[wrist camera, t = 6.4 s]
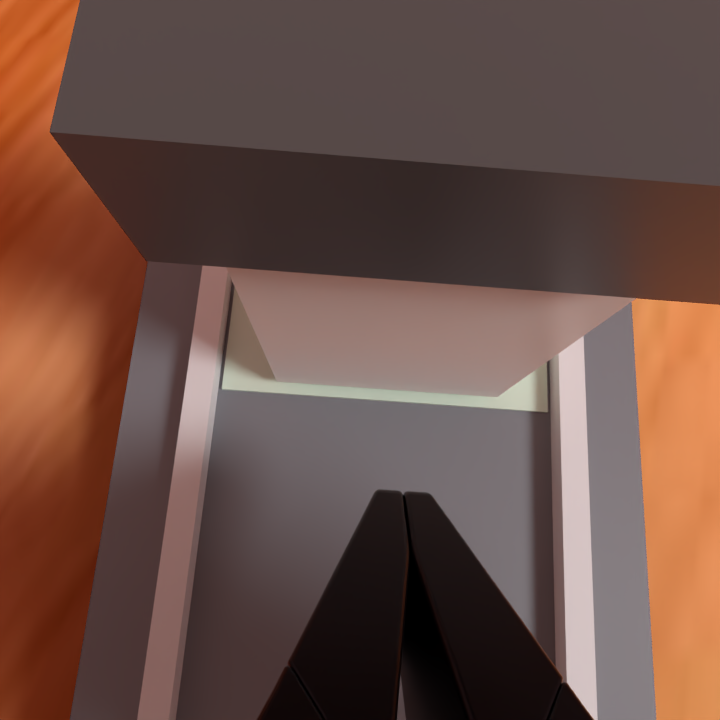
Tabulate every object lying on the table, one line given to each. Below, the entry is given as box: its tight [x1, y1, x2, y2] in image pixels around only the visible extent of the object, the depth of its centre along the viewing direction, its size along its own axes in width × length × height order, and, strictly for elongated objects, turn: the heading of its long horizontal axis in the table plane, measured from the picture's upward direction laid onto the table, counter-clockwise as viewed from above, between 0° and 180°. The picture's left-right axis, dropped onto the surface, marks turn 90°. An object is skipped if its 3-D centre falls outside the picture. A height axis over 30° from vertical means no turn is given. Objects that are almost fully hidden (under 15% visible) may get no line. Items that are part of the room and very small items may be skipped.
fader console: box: [70, 261, 656, 720], centre depth 14 cm, size 15×12×3 cm
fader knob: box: [50, 0, 720, 397], centre depth 9 cm, size 4×6×10 cm, turn 86°
